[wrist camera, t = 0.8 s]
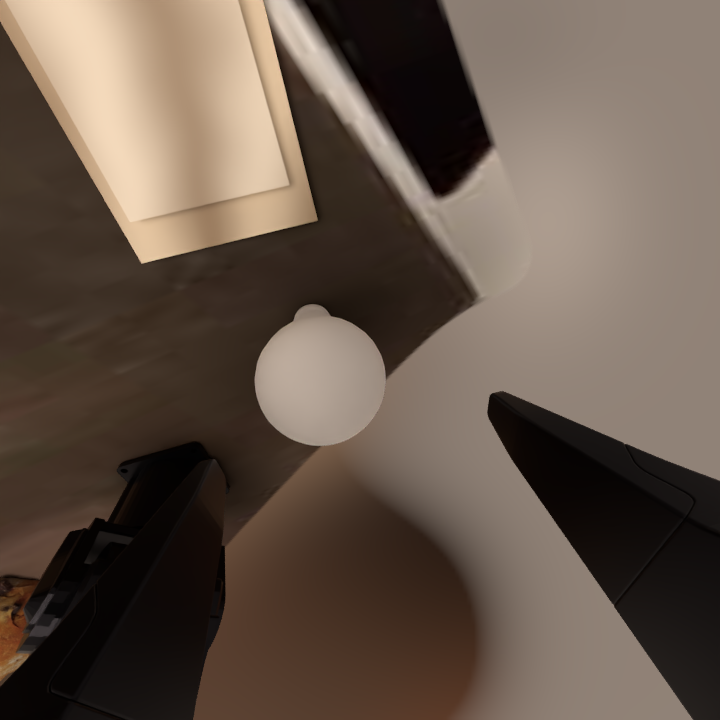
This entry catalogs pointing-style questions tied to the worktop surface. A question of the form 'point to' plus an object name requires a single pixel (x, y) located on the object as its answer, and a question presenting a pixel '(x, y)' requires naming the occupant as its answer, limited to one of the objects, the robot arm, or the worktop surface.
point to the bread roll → (13, 621)
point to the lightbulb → (320, 378)
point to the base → (171, 114)
